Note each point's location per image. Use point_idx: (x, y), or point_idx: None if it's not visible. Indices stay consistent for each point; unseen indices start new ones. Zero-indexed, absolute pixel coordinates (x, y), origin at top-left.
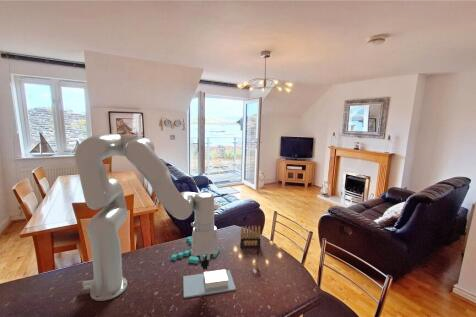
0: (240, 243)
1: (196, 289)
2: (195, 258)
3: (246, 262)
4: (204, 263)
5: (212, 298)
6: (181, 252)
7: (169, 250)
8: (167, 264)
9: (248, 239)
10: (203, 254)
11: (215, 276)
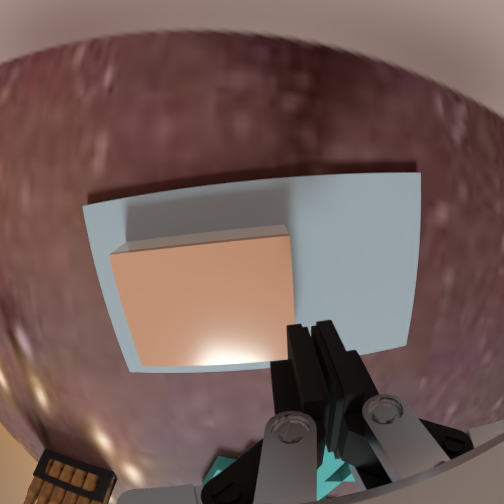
0: (113, 486)
1: (347, 226)
2: (326, 452)
3: (66, 400)
4: (338, 370)
5: (237, 138)
6: None
7: None
8: (439, 411)
9: (74, 489)
10: (435, 481)
11: (208, 306)
